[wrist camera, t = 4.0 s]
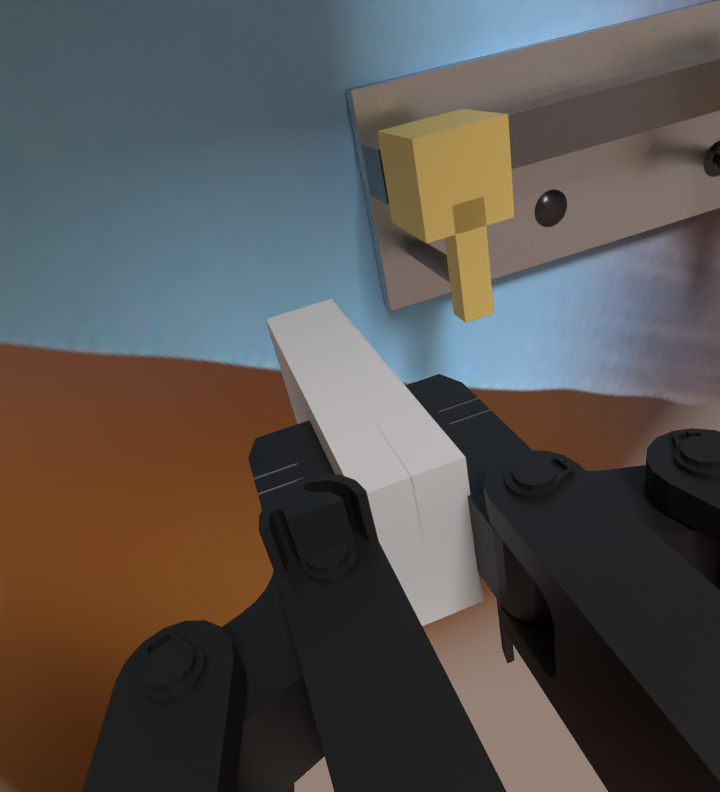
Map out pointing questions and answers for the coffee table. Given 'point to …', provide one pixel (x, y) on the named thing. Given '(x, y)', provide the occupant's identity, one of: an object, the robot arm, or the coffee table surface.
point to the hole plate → (583, 174)
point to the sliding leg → (451, 196)
